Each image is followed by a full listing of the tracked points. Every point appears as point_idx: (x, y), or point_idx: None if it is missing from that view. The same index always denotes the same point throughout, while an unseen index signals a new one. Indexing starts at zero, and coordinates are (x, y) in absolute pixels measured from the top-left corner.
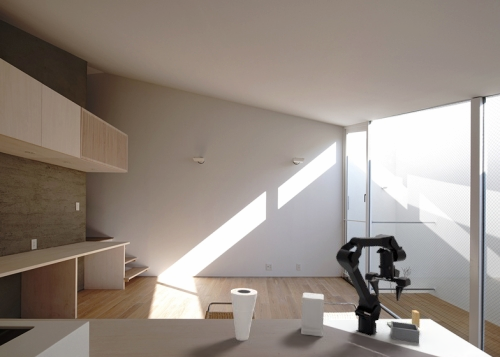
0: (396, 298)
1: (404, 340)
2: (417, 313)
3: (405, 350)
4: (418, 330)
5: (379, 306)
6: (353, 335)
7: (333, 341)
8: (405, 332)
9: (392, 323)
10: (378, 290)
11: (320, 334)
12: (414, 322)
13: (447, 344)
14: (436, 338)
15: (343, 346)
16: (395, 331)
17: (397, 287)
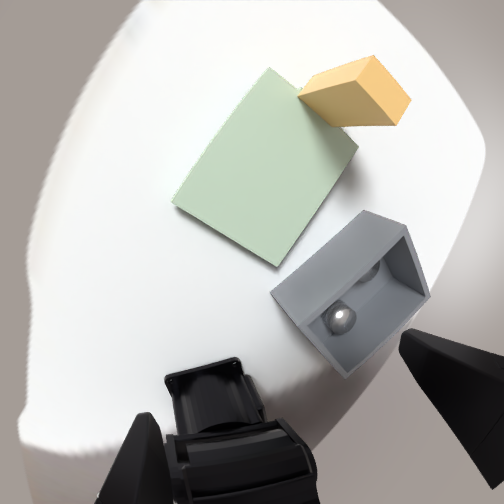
0: (414, 377)
1: (358, 315)
2: (400, 112)
3: (378, 358)
4: (427, 291)
5: (314, 471)
6: None
7: None
8: (381, 330)
9: (322, 344)
10: (144, 477)
11: None
12: (343, 121)
13: (444, 169)
14: (410, 140)
15: None
16: (348, 359)
17: (500, 468)
